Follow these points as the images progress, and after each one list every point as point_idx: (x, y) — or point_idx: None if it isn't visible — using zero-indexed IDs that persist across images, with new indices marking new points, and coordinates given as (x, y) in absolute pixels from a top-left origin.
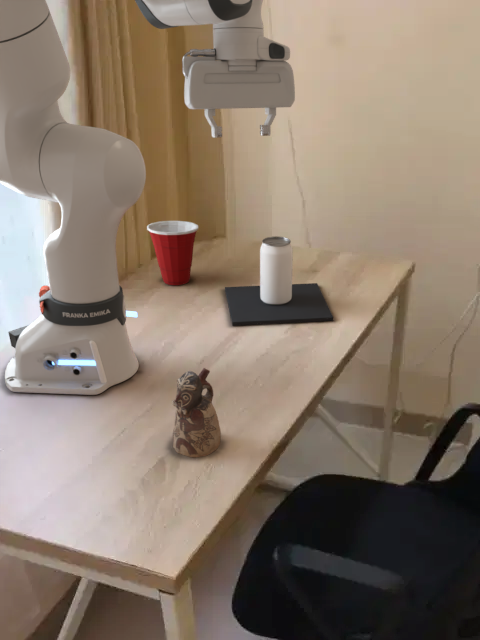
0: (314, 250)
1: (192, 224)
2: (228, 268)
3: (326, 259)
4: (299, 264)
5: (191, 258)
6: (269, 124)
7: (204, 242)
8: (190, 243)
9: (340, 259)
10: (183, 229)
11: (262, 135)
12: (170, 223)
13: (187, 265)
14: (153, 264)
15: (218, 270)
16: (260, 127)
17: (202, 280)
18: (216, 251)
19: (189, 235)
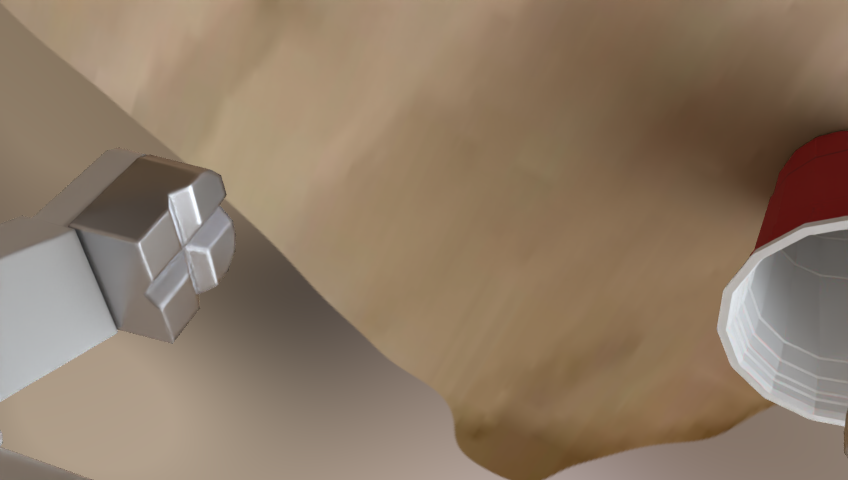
0: None
1: (729, 326)
2: (569, 188)
3: (191, 84)
4: (299, 89)
5: (793, 185)
6: (39, 224)
7: (532, 419)
8: (819, 202)
9: (143, 59)
10: (759, 344)
11: (221, 186)
12: (808, 400)
13: (827, 160)
14: None
15: (616, 190)
16: (184, 302)
17: (736, 131)
18: (531, 340)
19: (835, 217)
